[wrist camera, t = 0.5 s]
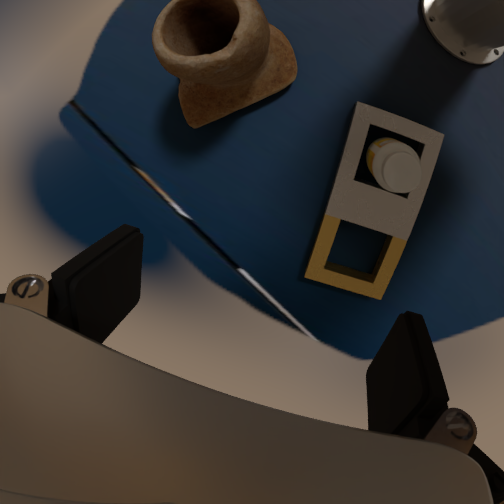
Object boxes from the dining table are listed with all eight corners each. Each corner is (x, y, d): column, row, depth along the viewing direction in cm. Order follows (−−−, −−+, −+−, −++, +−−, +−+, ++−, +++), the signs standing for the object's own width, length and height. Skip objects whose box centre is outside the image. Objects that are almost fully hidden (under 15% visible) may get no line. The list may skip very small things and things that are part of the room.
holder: (355, 102, 34) (357, 101, 32) (437, 133, 33) (444, 134, 31) (305, 268, 44) (304, 277, 42) (378, 290, 43) (380, 299, 41)
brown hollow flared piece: (271, 4, 31) (240, -45, 18) (308, 85, 35) (298, 68, 21) (166, 54, 36) (96, 38, 23) (198, 129, 40) (137, 142, 26)
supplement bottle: (382, 128, 35) (399, 132, 26) (414, 156, 35) (439, 170, 26) (356, 161, 37) (365, 175, 29) (388, 188, 37) (405, 210, 29)
